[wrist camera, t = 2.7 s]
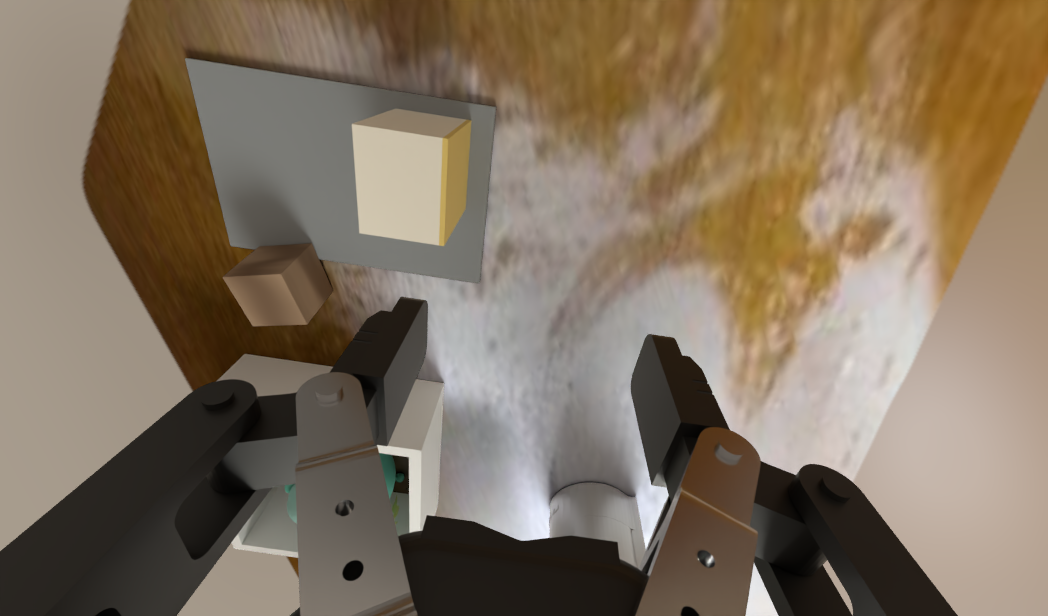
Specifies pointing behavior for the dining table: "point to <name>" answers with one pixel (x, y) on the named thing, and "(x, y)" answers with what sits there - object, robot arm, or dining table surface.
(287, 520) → the toy caddy
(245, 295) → the walnut cube
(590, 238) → the dining table surface
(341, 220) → the mat
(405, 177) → the cream block
